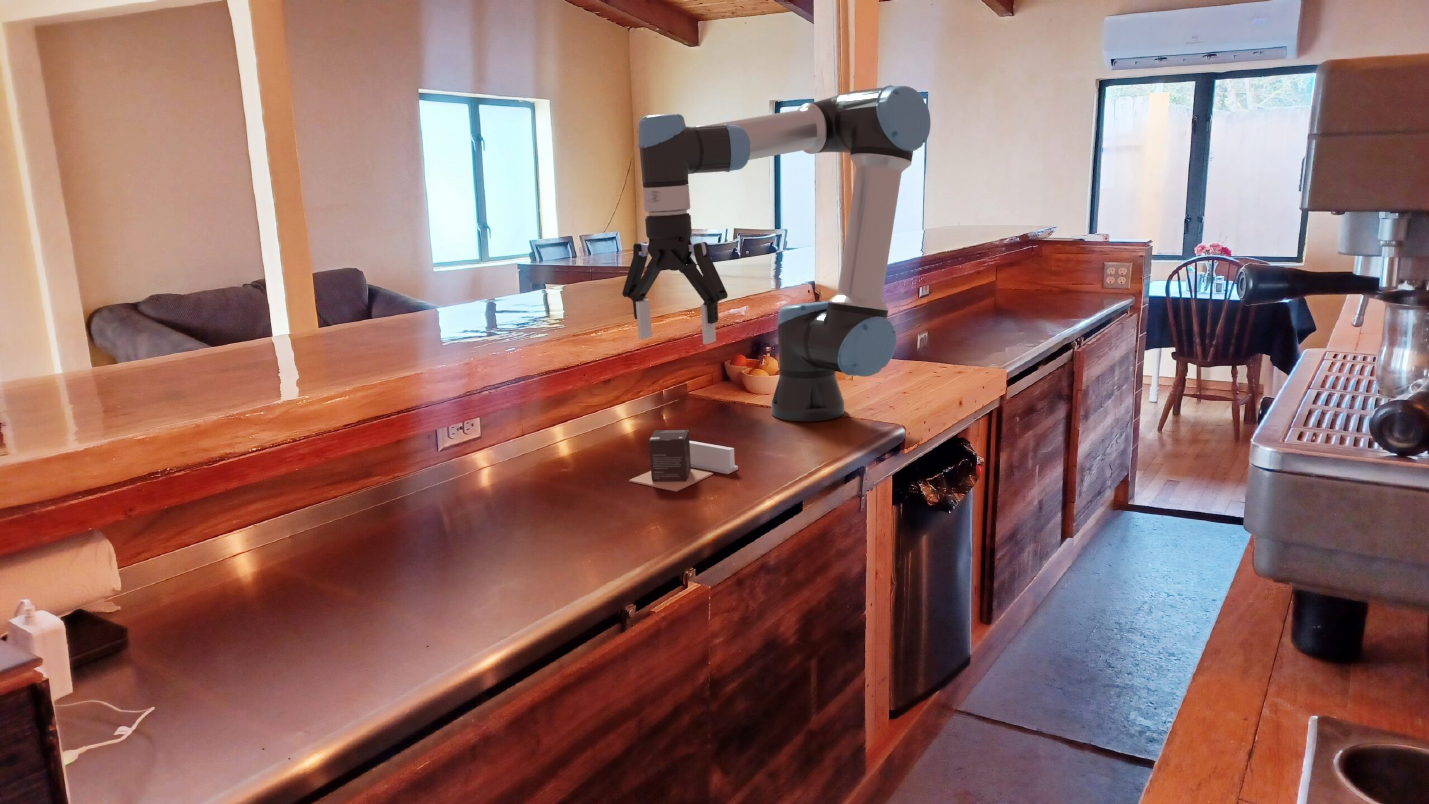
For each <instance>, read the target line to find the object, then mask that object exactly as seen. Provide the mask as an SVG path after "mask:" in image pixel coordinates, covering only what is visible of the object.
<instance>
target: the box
mask: <svg viewBox="0 0 1429 804" xmlns="http://www.w3.org/2000/svg"><path fill="white" fill-rule="evenodd" d="M690 441H691V440H690V430H689V429H661V430H659V429H657V430H654V431H653V433H652V435H651V437H650V438H649V440H648V445H649V458H650V459H649V460H650V471H651V476H652V481H687V479H688V476H689V473H690V470H691V469H692V467H691V462H690Z"/></svg>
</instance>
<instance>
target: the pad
mask: <svg viewBox="0 0 1429 804" xmlns="http://www.w3.org/2000/svg"><path fill="white" fill-rule="evenodd" d="M713 475H714V472H712V471H711V472H710V471H707V470H702V469H695V468H691V470H690V473H689V476H688V479H687V481H652V476H651V470H649V471H647V472H644V473H642V474H640V475H638V476H635V477H633V478H631V479H629V480H628V481H629V483H634V484H639V485H644V486H649V487H654V488H657V489H663V490H667V491H673V492H679V491H680V490H683V489H685V488H687V487H689V486H691V485H693V484H695V483H698V482H700V481H702V480H704V479H706V478H709V477H711V476H713Z"/></svg>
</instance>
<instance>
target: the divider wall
mask: <svg viewBox="0 0 1429 804" xmlns="http://www.w3.org/2000/svg"><path fill="white" fill-rule="evenodd" d="M689 441H690V462H691V468H693V469H695V468H696V469H698V470H703V471H708V472H710V471H711V472H716V473H721V474H724V475H725V474H726V475H728V474H730V473H733V472H735V471H737V470H738V469H739V466H738V465H736V463H735V448H734V447H729V446H728V447H727V446H723V445H716V444H711V443H705V442H702V441H701V442H699V441H694V440H689Z"/></svg>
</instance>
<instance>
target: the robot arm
mask: <svg viewBox="0 0 1429 804" xmlns="http://www.w3.org/2000/svg"><path fill="white" fill-rule="evenodd" d="M930 131H931V114H930V110H929V107H928V104H927V103H926V102H925V99H924V97H923V96H922V94H921V93H920V92H919V91H917V90H916V89H914V88H913V87H910V86H907V85H891V84H889V85H886V86H882V87H876V88H869V89H862V90H853V91H848V92H845V93H842V94H841V93H840V94H838V95H834V96H831V97H828V98H824V99H820V100H817V101H813V102H806V103H803V104H802V105H800V106H799V107H798V109H797V110H791V111H790V110H789V111H785V112H776V113H771V114H766V115H765V114H763V115H758V116H752V117H747V118H741V119H740V118H739V119H734V120H727V121H721V122H720V121H719V122H715V123H714V122H713V123H708V124H702V125H697V126H696V125H695V126H687V125H686V121H685V117H684V116H683V115H682V114H680V113H678V114H677V113H676V114H675V113H671V114H670V113H669V114H653V115H645V116H643V117H642V118H640V119H639V121H638V148H639V159H640V172H641V181H642V191H643V193H642V194H643V208H644V212H645V213H648V215H646V216H645V218H644V220H645V221H644V222H645V235H646V237H647V239H648V243H647V241H643V242H635V243H633V246H632V247H633V248H632V252H633V253H632V254H633V255H632V259H631V263H630V266H629V269H628V273H627V276H626V279H625V283H624V286H623V289H622V293H621V294H622V296H623V297H624V298H629V299H631V301H632V304H633V305H632V306H633V308H632V309H633V317H634V319H635V320H637V333H638V340H645V339H649V338H651V337H653V334H652V332H653V331H652V322H651V308H650V307H651V306H650V299H647V298H648V296H647V295H648V293H649V291H650V290H651V288H652V286H653V284H654V283H655V281H656V279H657V278H658V277H659V274H660V273H661V272H662V271H668V270H669V271H679V273H681V274H683V275H684V277H685V278H686V279H687V280H688V282H689V283H690V284H691V286H692V287H693V288H694V289H693V290H695V291H696V293H697V294H698V295H699V297H700V298H701V299H702V300H703V303H702V304H700V315H701V316H700V317H701V330H702V331H701V332H702V344H703V345H709V344H711V343H715V342H717V336H716V335H717V334H716V333H717V332H716V323H718V322H719V310H718V308H719V307H718V305H719V303H720V302H721V301H722V300H725V299H728V297H729V296H728V295H729V294H728V292H727V290H726V288H725V285H724V283H723V281H722V279H721V277H720V275H719V273H718V270H717V269H716V266H715V264H714V262H713V260H712V258H711V255H710V250H709V243H707V242H706V241H702V242H696V243H692V241H691V235H692V232H693V231H692V217H691V214H690V213H689V212H687V211H688V210H690V209H691V199H690V187H689V175H692V174H693V175H694V174H708V173H720V172H726V173H730V172H733V171H739V170H742V169H743V168H744V167H746V166H747V164H748V162H749V161H751V160H757V159H762V158H767V157H768V158H769V157H774V156H779V155H785V154H790V153H797V152H801V151H803V152H804V153H806V154H808V155H815V154H822V153H844V154H845V153H849V159H850V161H851V162H852V164H854V166H855V173H854V180H853V187H852V193H851V198H850V199H851V201H850V207H849V215H848V218H847V227H846V234H845V238H844V239H845V240H844V248H843V254H842V261H841V268H840V274H839V281H838V288H837V293H836V294H835V295H834V296H831V298H830V299H829V300H827V301H816V302H814V301H813V302H804V303H796V304H790V305H785V306H783V307H781V308H780V309H779V311H778V315H777V317H778V318H777V324H776V327H777V345H778V347H777V348H778V349H777V350H778V371H779V372H778V375H779V376H778V381H777V384H776V387H775V391H774V394H773V397H772V401H771V415H772V416H774V417H775V418H777V419H781V420H784V421H790V422H791V421H792V422H803V423H804V422H805V423H806V422H823V421H827V420H829V421H830V420H833V419H834V420H835V419H836V418H839V417H841V416H843V415H844V414H845V401H844V398H843V395H842V392H841V388H840V386H839V383H838V380H837V375H836V372H838V373H841V374H845V375H847V376H849V377H850V376H853V377H856V376H857V377H864V378H865V377H870V376H874V375H876V374H878V373H880V372H881V371H882V369H884V368H886V366H887V365H888V364H889V363H890V361H891V360H892V357H893V356H894V354H895V350H896V347H897V333H896V331H895V330H894V329H895V327H894V325H893V324H892V322H891V321H889V320H888V315H889V307H888V306H887V304H886V303H885V302H884V300H883V295H884V287H885V281H886V277H887V276H886V275H887V269H888V262H889V258H890V257H889V256H890V250H891V243H892V237H893V230H894V225H895V217H896V211H897V206H898V199H899V192H900V185H901V178H902V173H903V172H904V171H905V170H906V169H908V168H909V167H910V166H912V161H913V156H914V152H915V151H917V150H919V149H920V148H921V147H922V146H924V143H926V142H927V140H928V138H929V134H930V133H931V132H930ZM648 255H649V256H650V257H651V258H650V260H649V262H648V264H647V265H646V263H647V261H648V257H649V256H648ZM692 256H693V257H694V258H695V261H696V262H695V261H694V259H693V258H692ZM645 266H646V270H645ZM697 267H698V268H697ZM644 270H645V271H644Z"/></svg>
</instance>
